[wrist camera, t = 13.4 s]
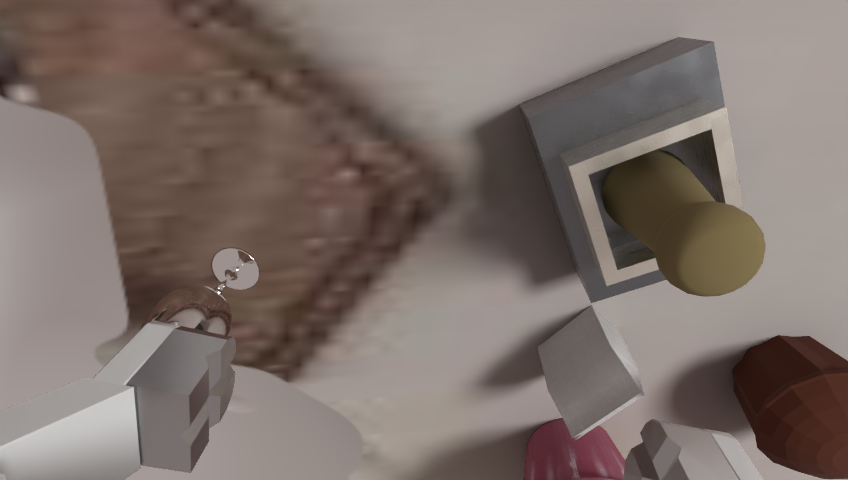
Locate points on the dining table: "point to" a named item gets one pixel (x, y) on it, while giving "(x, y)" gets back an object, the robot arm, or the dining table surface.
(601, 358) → the white box
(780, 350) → the muffin
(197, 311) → the wineglass
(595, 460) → the plant pot
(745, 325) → the dining table surface
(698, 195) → the cork
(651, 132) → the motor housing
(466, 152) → the dining table surface
